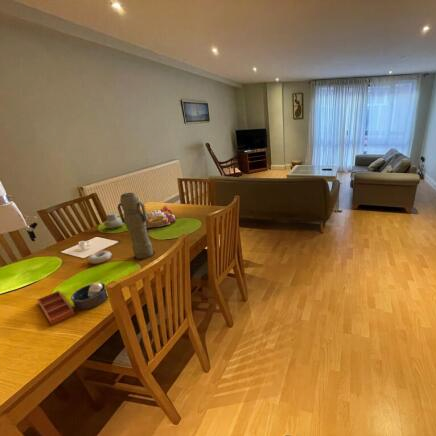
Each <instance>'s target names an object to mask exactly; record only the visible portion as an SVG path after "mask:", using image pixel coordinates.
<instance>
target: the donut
mask: <svg viewBox="0 0 436 436" xmlns="http://www.w3.org/2000/svg"><path fill="white" fill-rule="evenodd" d="M112 256H113V255H112V252H111V251H109V250H100V251H98V252H96V253H94V254H92V255H90V256H88V258H87V261H88V263H90V264H94V265H95V264H96V265H97V264H102V263H105V262H106V261H109V260H110V259H111V258H112Z"/></svg>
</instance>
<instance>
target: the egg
mask: <svg viewBox="0 0 436 436" xmlns="http://www.w3.org/2000/svg"><path fill="white" fill-rule="evenodd" d="M101 283H102V282H94V283H91V284H92V285H91V286H90V288H89V291H88V297H89V298H92V297H94V296H96V295H98V294H99V293H101V292H102V289H103V285H102V284H101Z"/></svg>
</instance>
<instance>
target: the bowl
mask: <svg viewBox="0 0 436 436" xmlns="http://www.w3.org/2000/svg"><path fill="white" fill-rule="evenodd" d="M100 283H101V284H102V285H103V289H102V292H101V293H99V294H98V295H96V296H94V297H92V298H89V297H88V291H89V288H90V286H91V285H92V284H93V283H91V284H87V285H85V286H82V287H81V288H79V289H77V290H75V292H73V293H72V295H71V297H70V300H71V302H72V304H73V306H74V308H75V309H76V310H88V309H91V308H94V307H97V306H98V305H100V304H102V303H103V302H105V301H106V300H107V299H108V298H109V296H107V293H106V289H105V286H106V287H107V285H106V283H103V282H100Z"/></svg>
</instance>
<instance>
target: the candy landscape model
mask: <svg viewBox="0 0 436 436" xmlns="http://www.w3.org/2000/svg"><path fill="white" fill-rule="evenodd" d="M165 212H167V213H165ZM168 213H169V214H168ZM146 215H147V218H148V219H147V220H146V221H145V222H146V229H150V228H158V227H159V228H160V227H164V226H167V225H171V223H170V222H172V224H174V222H176V221H177V219H176V216H175V215H174V212H173V211H172V209H171V208H170V207H169V206H167V205H164V206H163V207H162V208H161V209H158V210H155V209H152V210H149V211H148V212H146Z"/></svg>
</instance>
